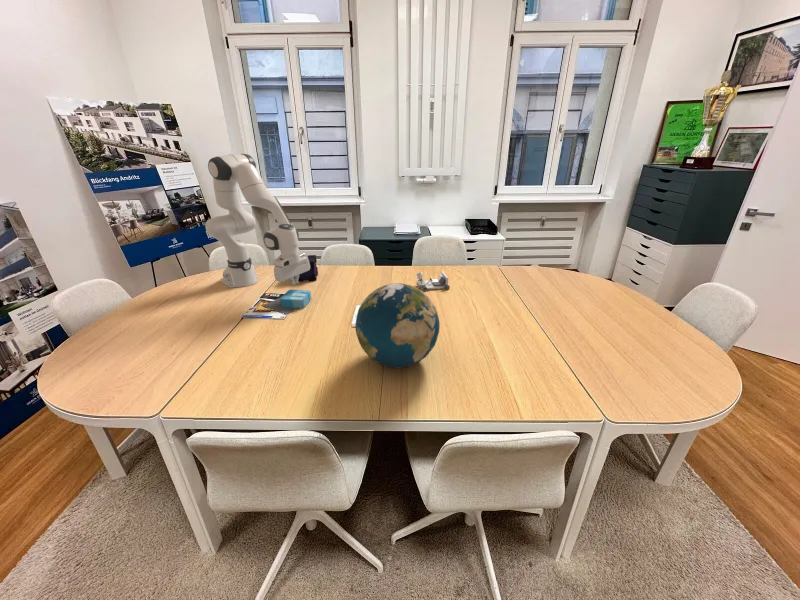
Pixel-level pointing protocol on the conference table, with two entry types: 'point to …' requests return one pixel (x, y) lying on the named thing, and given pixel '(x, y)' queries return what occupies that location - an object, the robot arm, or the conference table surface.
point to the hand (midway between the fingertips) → (295, 283)
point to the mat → (279, 307)
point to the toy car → (433, 282)
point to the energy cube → (310, 271)
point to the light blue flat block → (295, 298)
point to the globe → (397, 325)
